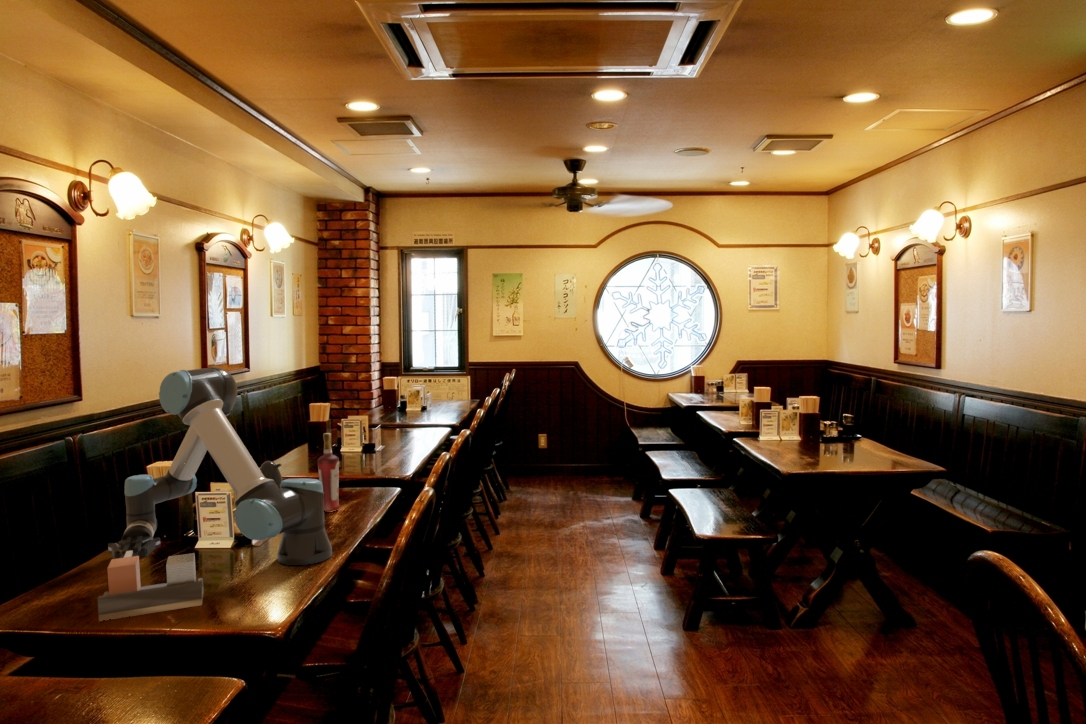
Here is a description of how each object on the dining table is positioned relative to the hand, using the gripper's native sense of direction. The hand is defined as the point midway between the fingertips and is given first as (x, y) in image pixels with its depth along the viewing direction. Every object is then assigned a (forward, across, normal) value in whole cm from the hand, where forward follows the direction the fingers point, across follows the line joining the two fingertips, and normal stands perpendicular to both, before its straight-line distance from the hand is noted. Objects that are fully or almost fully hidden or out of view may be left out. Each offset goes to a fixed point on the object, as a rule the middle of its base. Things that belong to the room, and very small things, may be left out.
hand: (126, 563), depth 190 cm
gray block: (+11, -13, -6) cm, 19 cm away
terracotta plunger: (+7, 0, -6) cm, 10 cm away
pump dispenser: (-83, -38, -8) cm, 92 cm away
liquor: (-57, -57, -8) cm, 81 cm away
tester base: (+12, -7, -8) cm, 16 cm away
